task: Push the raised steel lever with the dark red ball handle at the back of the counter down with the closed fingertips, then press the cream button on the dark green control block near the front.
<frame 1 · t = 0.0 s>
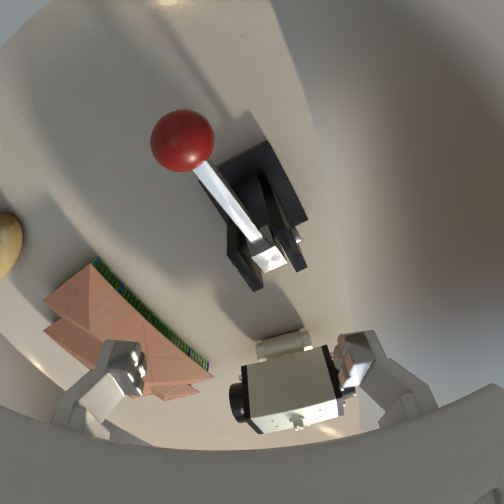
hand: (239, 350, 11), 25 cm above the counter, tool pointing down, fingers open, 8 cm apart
bread roll: (5, 238, 33), on the counter
house: (124, 340, 47), on the counter
bracket: (255, 196, 34), on the counter
lever: (230, 203, 19), point 14 cm above the counter, hinge at 20.0°
ball valve: (283, 339, 49), on the counter
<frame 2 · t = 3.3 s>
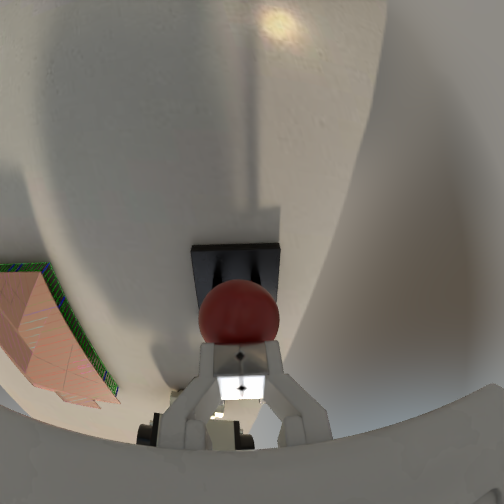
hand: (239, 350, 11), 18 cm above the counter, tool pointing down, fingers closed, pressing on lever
house: (44, 338, 37), on the counter
bracket: (236, 285, 32), on the counter
lever: (240, 355, 17), point 14 cm above the counter, hinge at 19.9°, touching gripper
ball valve: (197, 394, 46), on the counter
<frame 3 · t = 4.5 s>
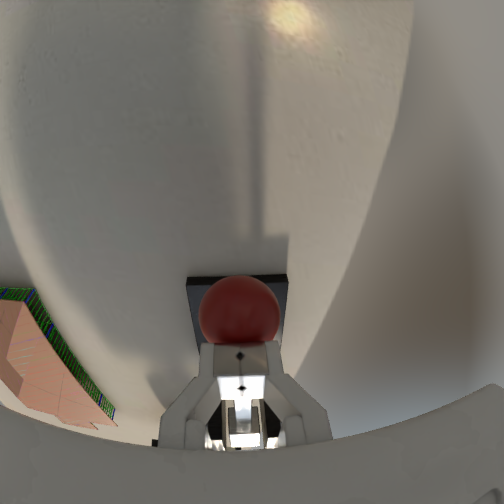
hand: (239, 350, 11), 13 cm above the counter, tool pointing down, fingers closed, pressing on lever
house: (36, 360, 33), on the counter
bracket: (238, 318, 28), on the counter
lever: (242, 386, 15), point 12 cm above the counter, hinge at -3.0°, touching gripper
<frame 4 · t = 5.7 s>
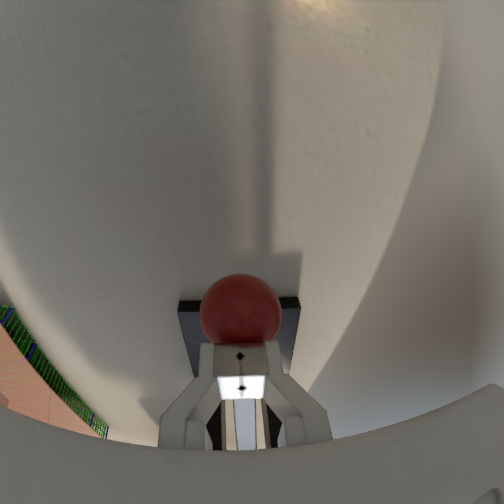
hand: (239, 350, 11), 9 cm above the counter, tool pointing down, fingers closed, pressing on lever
house: (23, 376, 28), on the counter
bracket: (240, 345, 24), on the counter
lever: (244, 414, 13), point 9 cm above the counter, hinge at -25.3°, touching gripper
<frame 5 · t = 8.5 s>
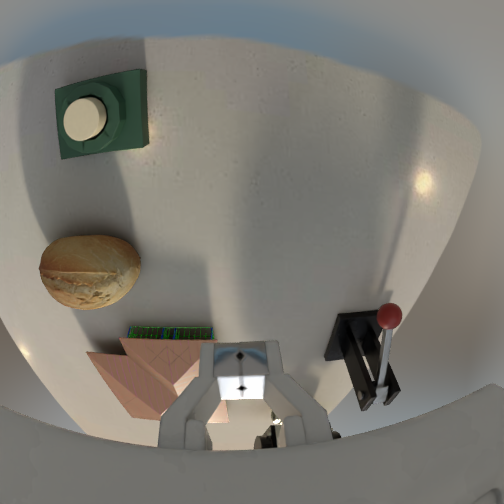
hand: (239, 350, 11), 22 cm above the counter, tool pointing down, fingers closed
button: (84, 118, 20), point 4 cm above the counter, slide at 0.1 cm
bread roll: (93, 253, 33), on the counter
house: (166, 379, 49), on the counter
bracket: (354, 334, 45), on the counter
control block: (104, 113, 24), on the counter
lever: (384, 355, 34), point 9 cm above the counter, hinge at -28.2°
ball valve: (290, 406, 58), on the counter
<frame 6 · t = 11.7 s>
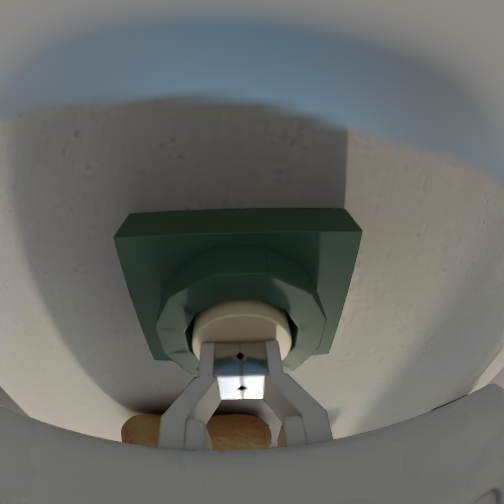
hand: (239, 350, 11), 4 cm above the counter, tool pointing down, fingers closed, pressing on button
button: (241, 333, 11), point 4 cm above the counter, slide at -0.8 cm, touching gripper
bread roll: (192, 416, 24), on the counter
control block: (238, 280, 14), on the counter
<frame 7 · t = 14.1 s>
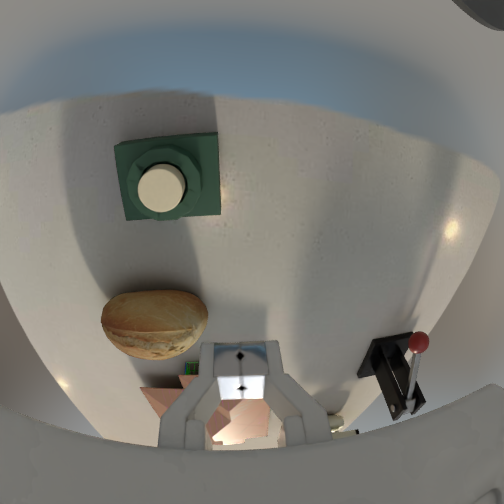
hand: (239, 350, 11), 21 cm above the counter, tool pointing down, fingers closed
button: (161, 187, 23), point 4 cm above the counter, slide at 0.1 cm
bread roll: (154, 303, 36), on the counter
house: (212, 403, 52), on the counter
bracket: (384, 354, 48), on the counter
control block: (170, 173, 27), on the counter
lever: (413, 374, 37), point 9 cm above the counter, hinge at -28.2°
ball valve: (321, 417, 61), on the counter
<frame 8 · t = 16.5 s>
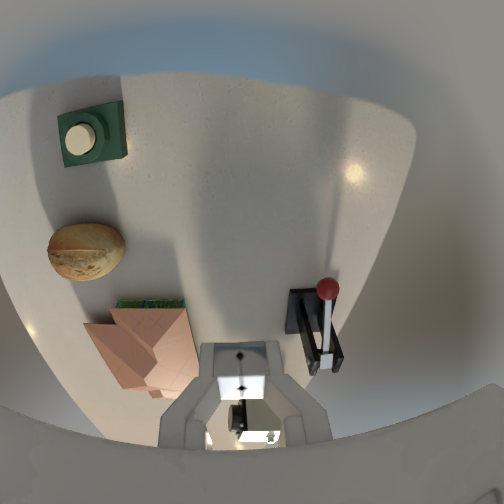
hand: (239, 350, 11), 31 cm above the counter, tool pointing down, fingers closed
button: (80, 139, 29), point 4 cm above the counter, slide at 0.1 cm
bread roll: (89, 239, 42), on the counter
house: (150, 350, 58), on the counter
bracket: (309, 309, 53), on the counter
control block: (94, 133, 33), on the counter
lever: (326, 324, 43), point 9 cm above the counter, hinge at -28.2°
ball valve: (263, 381, 67), on the counter
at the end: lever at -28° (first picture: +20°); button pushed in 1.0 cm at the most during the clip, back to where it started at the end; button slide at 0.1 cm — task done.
